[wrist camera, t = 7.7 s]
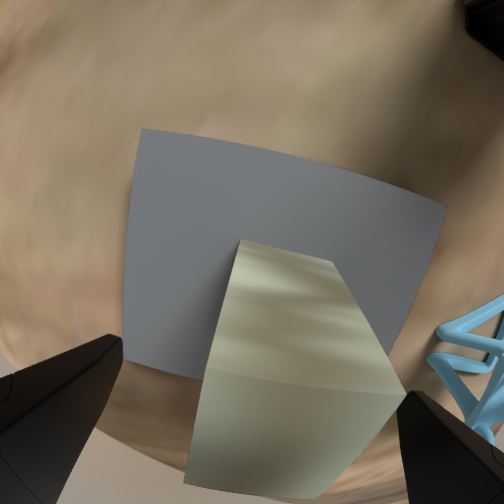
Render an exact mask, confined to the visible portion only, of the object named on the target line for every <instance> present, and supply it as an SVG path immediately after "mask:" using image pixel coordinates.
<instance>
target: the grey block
mask: <svg viewBox="0 0 504 504" xmlns="http://www.w3.org/2000/svg"><path fill="white" fill-rule="evenodd" d="M446 208H447V206H446V205H444V204H441V203H439V202H436V201H434V200H431V199H429V198H426V197H424V196H421V195H418V194H416V193H413V192H410V191H408V190H405V189H402V188H399V187H396V186H394V185H391V184H388V183H385V182H382V181H379V180H376V179H373V178H370V177H367V176H364V175H360V174H357V173H354V172H351V171H347V170H344V169H341V168H337V167H334V166H330V165H327V164H323V163H319V162H316V161H312V160H308V159H304V158H301V157H297V156H293V155H289V154H284V153H280V152H276V151H272V150H267V149H263V148H258V147H253V146H249V145H244V144H239V143H234V142H228V141H223V140H218V139H212V138H206V137H200V136H194V135H187V134H181V133H174V132H166V131H158V130H150V129H142V130H141V135H140V140H139V145H138V151H137V157H136V163H135V169H134V175H133V182H132V189H131V197H130V205H129V214H128V223H127V234H126V246H125V261H124V281H123V354H124V359H125V360H128V361H132V362H135V363H138V364H141V365H144V366H148V367H151V368H154V369H158V370H161V371H165V372H169V373H172V374H176V375H180V376H184V377H188V378H192V379H196V380H200V381H203V380H204V375H205V370H206V366H207V362H208V358H209V354H210V350H211V347H212V343H213V339H214V335H215V332H216V328H217V324H218V320H219V317H220V313H221V309H222V306H223V302H224V298H225V294H226V291H227V287H228V283H229V280H230V276H231V273H232V269H233V265H234V262H235V258H236V254H237V251H238V247H239V244H240V240H241V239H243V240H247V241H251V242H255V243H259V244H263V245H267V246H272V247H276V248H280V249H284V250H288V251H292V252H296V253H300V254H304V255H308V256H312V257H316V258H320V259H324V260H328V261H332V262H333V264H334V266H335V267H336V269H337V271H338V272H339V274H340V275H341V277H342V279H343V280H344V282H345V284H346V285H347V287H348V289H349V290H350V292H351V294H352V295H353V297H354V299H355V301H356V302H357V304H358V306H359V307H360V309H361V311H362V313H363V314H364V316H365V318H366V320H367V321H368V323H369V325H370V327H371V328H372V330H373V332H374V334H375V335H376V337H377V339H378V341H379V343H380V345H381V346H382V348H383V350H384V352H385V354H386V356H387V357H388V355H389V353H390V351H391V349H392V347H393V345H394V343H395V341H396V339H397V337H398V335H399V333H400V331H401V329H402V327H403V325H404V322H405V320H406V318H407V316H408V314H409V311H410V309H411V307H412V305H413V302H414V300H415V298H416V295H417V293H418V290H419V288H420V285H421V283H422V280H423V278H424V275H425V272H426V270H427V267H428V264H429V262H430V259H431V256H432V253H433V250H434V247H435V244H436V241H437V238H438V235H439V232H440V229H441V225H442V222H443V219H444V215H445V211H446Z"/></svg>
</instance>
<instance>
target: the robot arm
mask: <svg viewBox="0 0 504 504" xmlns="http://www.w3.org/2000/svg"><path fill="white" fill-rule="evenodd" d="M464 5H465V15H466V30H467V32H468V33H469V34H470V35H471V36H472V37H473V38H475V39H476V40H478V41H479V42H480V43H482V44H483V45H484V46H486V47H487V48H488V49H490V50H491V51H492V52H494V53H495V54H496V55H497V56H499V57H500V58H501V59H502V60H503V61H504V0H464ZM472 29H473V30H472ZM122 362H123V341H122V339H121V338H120V337H118V336H115V335H112V334H106V335H104V336H102V337H99V338H97V339H95V340H92V341H90V342H87V343H85V344H83V345H80V346H78V347H75V348H73V349H71V350H68V351H66V352H63V353H61V354H59V355H56V356H54V357H51V358H49V359H46V360H44V361H42V362H39V363H37V364H34V365H32V366H29V367H27V368H24V369H22V370H19V371H17V372H15V373H14V374H9V375H7V376H4V377H2V378H0V504H56V503H57V500H58V498H59V496H60V494H61V492H62V490H63V488H64V485H65V483H66V481H67V479H68V477H69V475H70V473H71V471H72V469H73V467H74V465H75V463H76V461H77V459H78V457H79V455H80V453H81V451H82V450H83V448H84V446H85V444H86V442H87V440H88V438H89V436H90V434H91V432H92V430H93V428H94V427H95V425H96V423H97V421H98V419H99V417H100V416H101V414H102V412H103V410H104V408H105V406H106V403H107V401H108V398H109V396H110V393H111V391H112V388H113V386H114V383H115V381H116V378H117V376H118V374H119V371H120V369H121V366H122ZM397 421H398V430H399V441H400V450H401V457H402V462H403V468H404V473H405V479H406V486H407V492H408V499H409V504H504V453H503V452H502V451H501V450H499V449H498V448H496V447H495V446H494V445H492V444H491V443H489V442H488V441H487V440H486V439H484V438H483V437H482V436H480V435H479V434H478V433H476V432H475V431H474V430H472V429H471V428H470V427H468V426H467V425H466V424H464V423H463V422H462V421H460V420H459V419H458V418H456V417H455V416H454V415H452V414H451V413H450V412H449V411H447V410H446V409H445V408H443V407H442V406H441V405H439V404H438V403H437V402H435V401H434V400H433V399H431V398H430V397H429V396H427V395H426V394H425V393H424V392H422V391H418V390H412V391H410V392H409V393H408V394H407V395H406V397H405V398H404V400H403V401H402V402H401V404H400V405H399V407H398V409H397Z"/></svg>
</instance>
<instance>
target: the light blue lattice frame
mask: <svg viewBox="0 0 504 504" xmlns="http://www.w3.org/2000/svg"><path fill="white" fill-rule="evenodd" d="M503 310H504V294H503V295H501V296H499V297H498V298H496V299H494V300H492V301H490V302H489V303H487V304H485V305H483V306H481V307H480V308H478V309H476V310H474V311H472V312H470V313H468V314H466V315H464V316H462V317H460V318H458V319H455V320H453V321H450V322H447V323H445V324H442V325H440V326H438V327H437V329H436V334H437V335H438V336H439V337H440V338H441V339H442V340H443V341H445V342H449V343H453V344H458V345H462V346H466V347H471V348H475V349H478V350H482V351H485V352H488V353H490V354H489V356H488V359H487V360H486V362H480V361H476V360H472V359H469V358H465V357H461V356H457V355H453V354H448V353H440V352H436V353H432V354H430V355H429V356H428V357H427V359H426V361H427V362H428V363H429V365H430V366H431V367H432V368H433V369H434V371H435V372H436V373H437V375H438V376H439V377H440V379H441V380H442V381H443V383H444V384H445V386H446V387H447V389H448V390H449V391H450V393H451V394H452V396H453V398H454V399H455V401H456V402H457V404H458V406H459V407H460V409H461V411H462V413H463V415H464V418H465V423H464V424H466V425H467V426H468V427H470V428H471V429H472V430H474V431H475V432H476V433H478V434H479V435H480V436H482V437H483V438H484V439H486V440H487V441H488V442H489V443H491V444H492V445H494V436H493V433H492V431H491V430H490V428H489V427H490V426H493V425H495V424H497V423H499V422H501V421H504V317H503V320H502V323H501V326H500V328H499V331H498V334H497V337H496V339H492V338H488V337H483V336H478V335H474V334H469V333H466V332H468V331H470V330H472V329H474V328H475V327H477V326H479V325H480V324H482V323H484V322H485V321H487V320H489V319H490V318H492V317H493V316H495V315H497V314H498V313H500V312H501V311H503ZM497 358H499V360H498V362H497V364H496V366H495V368H494V370H493V373H492V375H491V378H490V381H489V383H488V385H487V388H486V390H485V392H484V394H483V396H482V398H481V399H480V401H478V400H477V399H476V398H475V396H474V395H473V394H472V393H471V392H470V391H469V389H468V388H467V387H466V385H465V384H464V383H463V381H462V380H461V379H460V377H459V376H458V375H457V373H456V372H455V370H460V371H466V372H473V373H489V372H491V370H492V369H493V367H494V365H495V363H496V360H497Z"/></svg>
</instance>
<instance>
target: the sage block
mask: <svg viewBox="0 0 504 504" xmlns="http://www.w3.org/2000/svg"><path fill="white" fill-rule="evenodd" d="M406 395H407V394H406V392H405V390H404V388H403V386H402V384H401V382H400V380H399V378H398V376H397V374H396V373H395V371H394V369H393V367H392V365H391V363H390V361H389V359H388V357H387V356H386V354H385V352H384V350H383V348H382V346H381V345H380V343H379V341H378V339H377V337H376V335H375V334H374V332H373V330H372V328H371V327H370V325H369V323H368V321H367V320H366V318H365V316H364V314H363V313H362V311H361V309H360V307H359V306H358V304H357V302H356V301H355V299H354V297H353V295H352V294H351V292H350V290H349V289H348V287H347V285H346V284H345V282H344V280H343V279H342V277H341V275H340V274H339V272H338V271H337V269H336V267H335V266H334V264H333V262H332V261H328V260H324V259H320V258H316V257H312V256H308V255H304V254H300V253H296V252H292V251H288V250H284V249H280V248H276V247H272V246H267V245H263V244H259V243H255V242H251V241H247V240H243V239H241V240H240V244H239V247H238V251H237V254H236V258H235V262H234V265H233V269H232V273H231V276H230V280H229V283H228V287H227V291H226V294H225V298H224V302H223V306H222V309H221V313H220V317H219V320H218V324H217V328H216V332H215V335H214V339H213V343H212V347H211V350H210V354H209V358H208V362H207V366H206V370H205V375H204V380H203V385H202V390H201V394H200V399H199V404H198V409H197V414H196V419H195V424H194V429H193V434H192V440H191V445H190V450H189V455H188V461H187V466H186V471H185V477H184V483H185V484H190V485H194V486H199V487H203V488H208V489H214V490H219V491H226V492H232V493H239V494H247V495H255V496H266V497H280V498H317V497H318V496H319V495H320V494H321V493H322V492H324V491H325V490H326V489H327V488H328V487H329V486H330V485H331V484H332V483H333V482H334V481H335V480H336V479H337V478H338V477H339V476H340V475H341V474H342V473H343V472H344V471H345V470H346V469H347V468H348V467H349V466H350V465H351V463H352V462H353V461H354V460H355V459H356V458H357V457H358V456H359V455H360V454H361V452H362V451H363V450H364V449H365V448H366V447H367V446H368V444H369V443H370V442H371V441H372V440H373V438H374V437H375V436H376V435H377V434H378V432H379V431H380V430H381V429H382V427H383V426H384V425H385V423H386V422H387V421H388V420H389V418H390V417H391V416H392V414H393V413H394V412H395V410H396V409H397V407H398V406H399V405H400V403H401V402H402V401H403V399H404V398H405V396H406Z"/></svg>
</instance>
